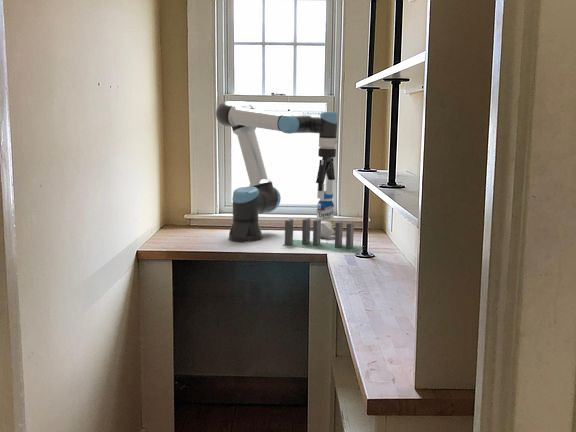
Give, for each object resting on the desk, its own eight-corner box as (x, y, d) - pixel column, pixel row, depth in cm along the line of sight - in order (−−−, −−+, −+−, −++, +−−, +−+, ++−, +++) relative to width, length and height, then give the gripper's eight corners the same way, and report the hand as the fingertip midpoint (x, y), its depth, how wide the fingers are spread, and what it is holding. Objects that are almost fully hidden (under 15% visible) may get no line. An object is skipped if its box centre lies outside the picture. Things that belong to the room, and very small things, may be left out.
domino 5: (345, 248, 254) (346, 223, 252) (349, 246, 259) (349, 221, 257) (349, 249, 253) (350, 224, 251) (353, 247, 258) (354, 222, 256)
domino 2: (302, 244, 261) (302, 219, 259) (305, 242, 266) (306, 218, 264) (305, 244, 261) (306, 220, 259) (309, 242, 265) (310, 218, 263)
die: (336, 238, 279) (328, 221, 283) (336, 233, 271) (328, 214, 274) (320, 245, 279) (312, 227, 282) (319, 239, 271) (312, 221, 274)
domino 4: (334, 247, 256) (335, 222, 254) (338, 245, 260) (338, 220, 258) (338, 248, 255) (339, 223, 253) (342, 245, 260) (342, 221, 258)
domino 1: (284, 245, 258) (285, 220, 257) (288, 243, 263) (289, 218, 261) (288, 245, 258) (289, 221, 256) (292, 243, 262) (293, 219, 260)
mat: (281, 246, 258) (281, 245, 258) (293, 240, 271) (293, 239, 271) (357, 254, 246) (357, 253, 246) (366, 247, 259) (366, 246, 259)
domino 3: (312, 245, 259) (313, 220, 258) (316, 243, 264) (317, 218, 262) (316, 245, 259) (317, 221, 257) (320, 243, 263) (321, 219, 261)
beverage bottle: (332, 230, 295) (333, 190, 292) (334, 234, 287) (335, 193, 283) (315, 230, 294) (316, 190, 291) (317, 234, 286) (318, 193, 283)
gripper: (327, 150, 244) (325, 201, 248) (343, 146, 267) (340, 193, 271) (310, 148, 246) (308, 199, 250) (326, 145, 269) (324, 192, 273)
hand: (324, 196), depth 260 cm, fingers open, 13 cm apart
